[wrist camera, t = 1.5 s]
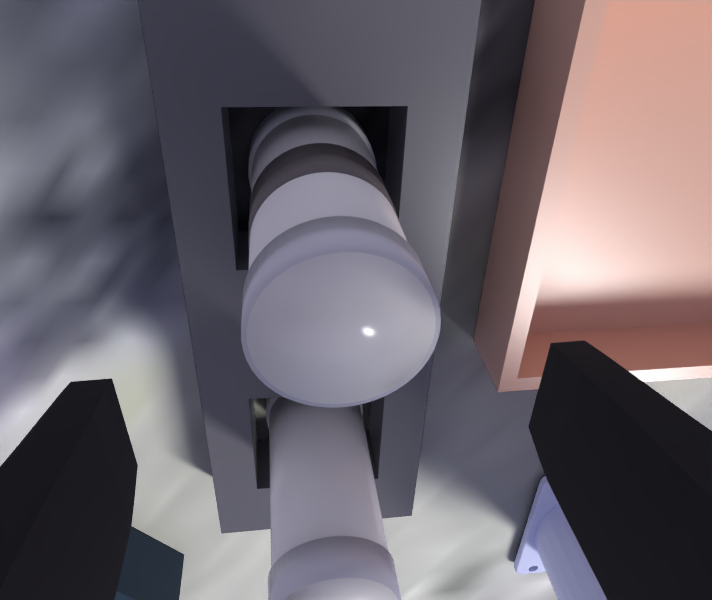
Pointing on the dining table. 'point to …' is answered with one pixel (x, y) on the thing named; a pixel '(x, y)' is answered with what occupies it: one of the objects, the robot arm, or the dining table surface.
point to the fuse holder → (218, 198)
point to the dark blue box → (149, 570)
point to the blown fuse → (329, 267)
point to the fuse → (324, 507)
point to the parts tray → (606, 194)
